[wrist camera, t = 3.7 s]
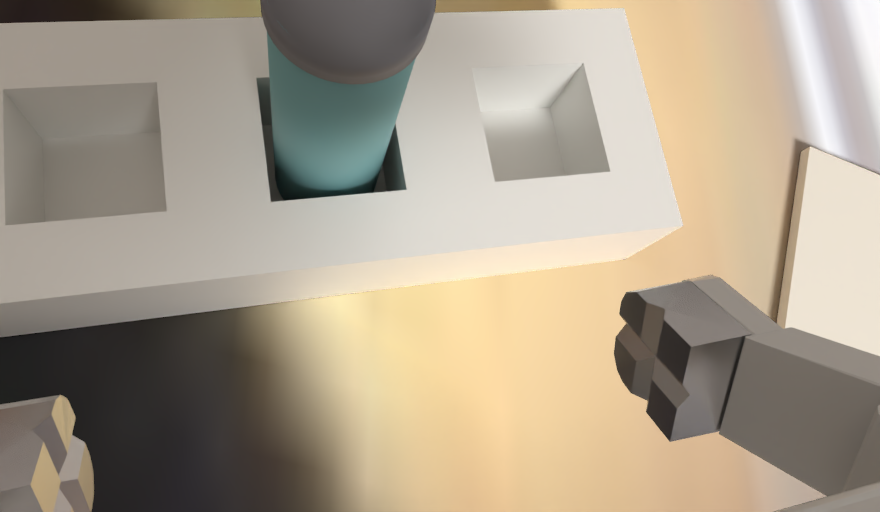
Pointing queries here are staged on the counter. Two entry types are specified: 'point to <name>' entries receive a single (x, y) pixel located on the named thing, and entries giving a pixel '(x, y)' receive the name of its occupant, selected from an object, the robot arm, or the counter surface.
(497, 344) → the counter surface
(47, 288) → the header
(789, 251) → the mat
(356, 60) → the tumbler
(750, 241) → the counter surface
